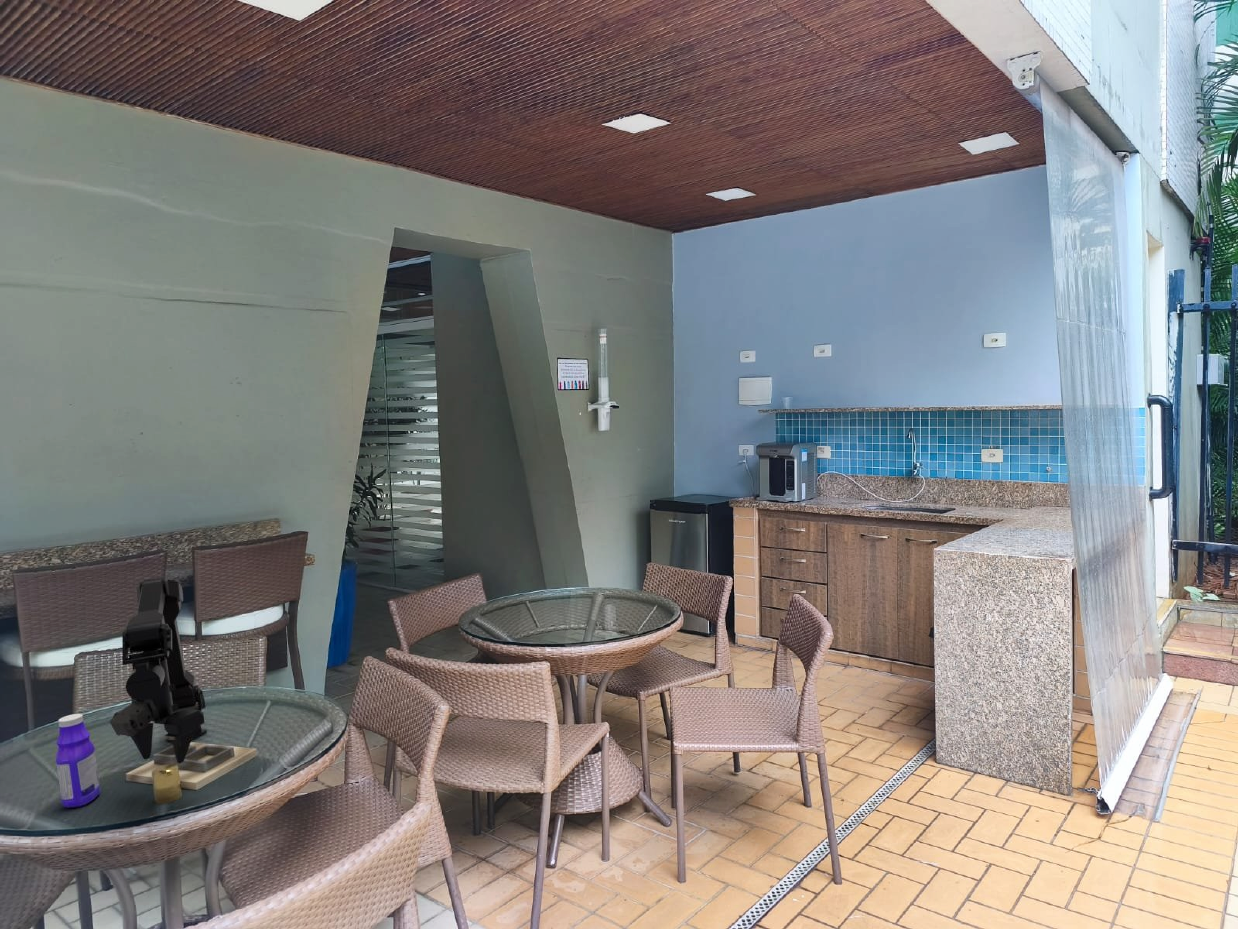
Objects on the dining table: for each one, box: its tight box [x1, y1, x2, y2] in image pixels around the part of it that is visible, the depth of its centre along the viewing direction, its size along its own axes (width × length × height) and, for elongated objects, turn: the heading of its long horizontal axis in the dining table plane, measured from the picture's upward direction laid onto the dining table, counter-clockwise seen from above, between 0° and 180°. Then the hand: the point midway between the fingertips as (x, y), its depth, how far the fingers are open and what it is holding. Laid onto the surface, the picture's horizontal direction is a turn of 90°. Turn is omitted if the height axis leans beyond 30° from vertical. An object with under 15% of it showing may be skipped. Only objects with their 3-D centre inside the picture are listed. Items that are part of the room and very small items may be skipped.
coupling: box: [152, 764, 183, 805], centre depth 165 cm, size 5×5×6 cm
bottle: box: [55, 713, 101, 809], centre depth 167 cm, size 7×6×17 cm
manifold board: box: [125, 741, 258, 791], centre depth 179 cm, size 20×16×4 cm
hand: (163, 760), depth 165 cm, fingers open, 9 cm apart
